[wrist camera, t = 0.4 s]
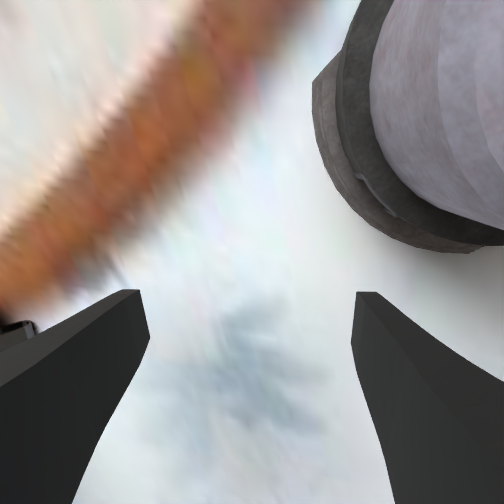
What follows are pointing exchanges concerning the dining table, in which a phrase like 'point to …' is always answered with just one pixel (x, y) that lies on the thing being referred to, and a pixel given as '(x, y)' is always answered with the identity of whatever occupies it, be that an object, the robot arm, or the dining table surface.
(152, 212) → the dining table surface
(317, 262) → the dining table surface
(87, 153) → the dining table surface
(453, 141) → the juicer
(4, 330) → the coffee press
